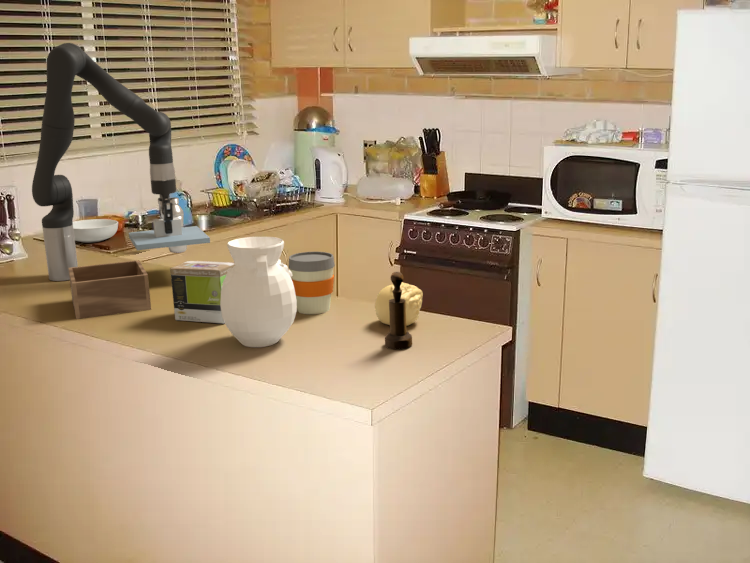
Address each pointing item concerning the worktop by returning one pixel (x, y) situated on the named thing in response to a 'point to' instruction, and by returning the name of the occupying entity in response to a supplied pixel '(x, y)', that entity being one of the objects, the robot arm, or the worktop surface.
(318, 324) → the worktop surface
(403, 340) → the dark brown tall piece
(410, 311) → the sculpture
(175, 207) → the plastic bottle
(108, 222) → the serving bowl
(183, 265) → the tea box
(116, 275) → the box
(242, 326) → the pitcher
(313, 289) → the reusable coffee cup
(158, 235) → the lid
